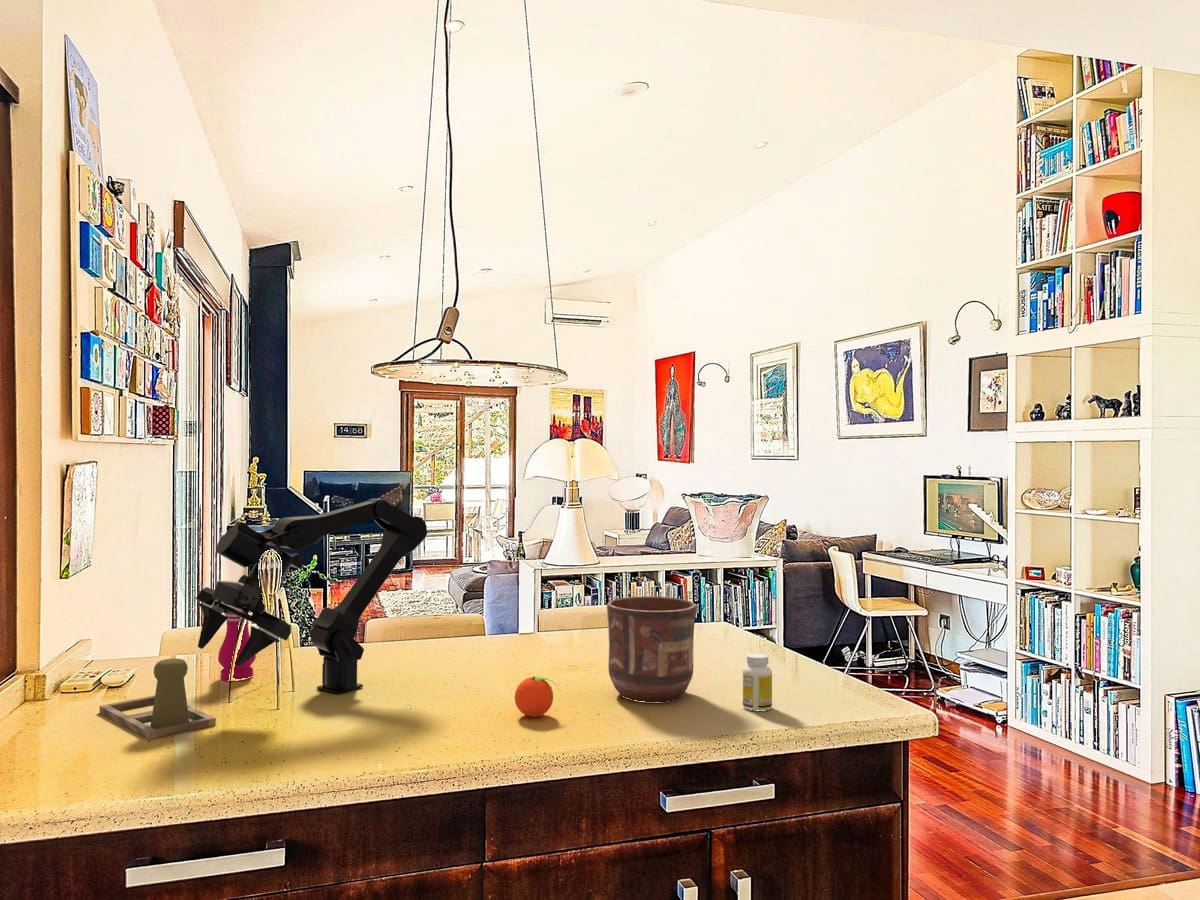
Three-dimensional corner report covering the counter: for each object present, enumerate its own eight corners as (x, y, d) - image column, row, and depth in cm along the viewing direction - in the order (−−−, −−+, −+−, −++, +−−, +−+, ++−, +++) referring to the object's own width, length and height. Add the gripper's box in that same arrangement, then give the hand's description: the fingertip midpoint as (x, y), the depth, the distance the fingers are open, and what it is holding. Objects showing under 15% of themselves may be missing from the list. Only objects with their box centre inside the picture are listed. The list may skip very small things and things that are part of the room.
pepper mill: (242, 683, 181) (243, 584, 181) (210, 681, 182) (211, 582, 182) (262, 674, 188) (263, 579, 188) (231, 672, 189) (232, 578, 190)
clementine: (556, 709, 165) (556, 671, 165) (561, 721, 158) (561, 680, 158) (512, 711, 163) (513, 672, 163) (515, 722, 157) (516, 682, 157)
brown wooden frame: (215, 725, 153) (215, 718, 153) (149, 739, 145) (149, 732, 145) (162, 700, 168) (162, 694, 168) (99, 712, 160) (99, 705, 160)
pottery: (708, 689, 180) (708, 599, 180) (678, 712, 164) (678, 613, 164) (627, 680, 187) (627, 593, 187) (591, 700, 171) (591, 606, 171)
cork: (151, 720, 155) (152, 657, 155) (190, 717, 157) (190, 654, 157) (149, 731, 149) (149, 664, 149) (189, 727, 152) (189, 662, 152)
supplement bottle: (773, 705, 169) (774, 653, 169) (769, 713, 164) (770, 659, 164) (745, 702, 170) (745, 651, 170) (740, 710, 165) (740, 657, 165)
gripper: (202, 547, 164) (152, 626, 158) (279, 579, 157) (230, 662, 151) (236, 569, 173) (191, 644, 167) (311, 600, 166) (266, 679, 160)
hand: (218, 656), depth 161 cm, fingers open, 9 cm apart
